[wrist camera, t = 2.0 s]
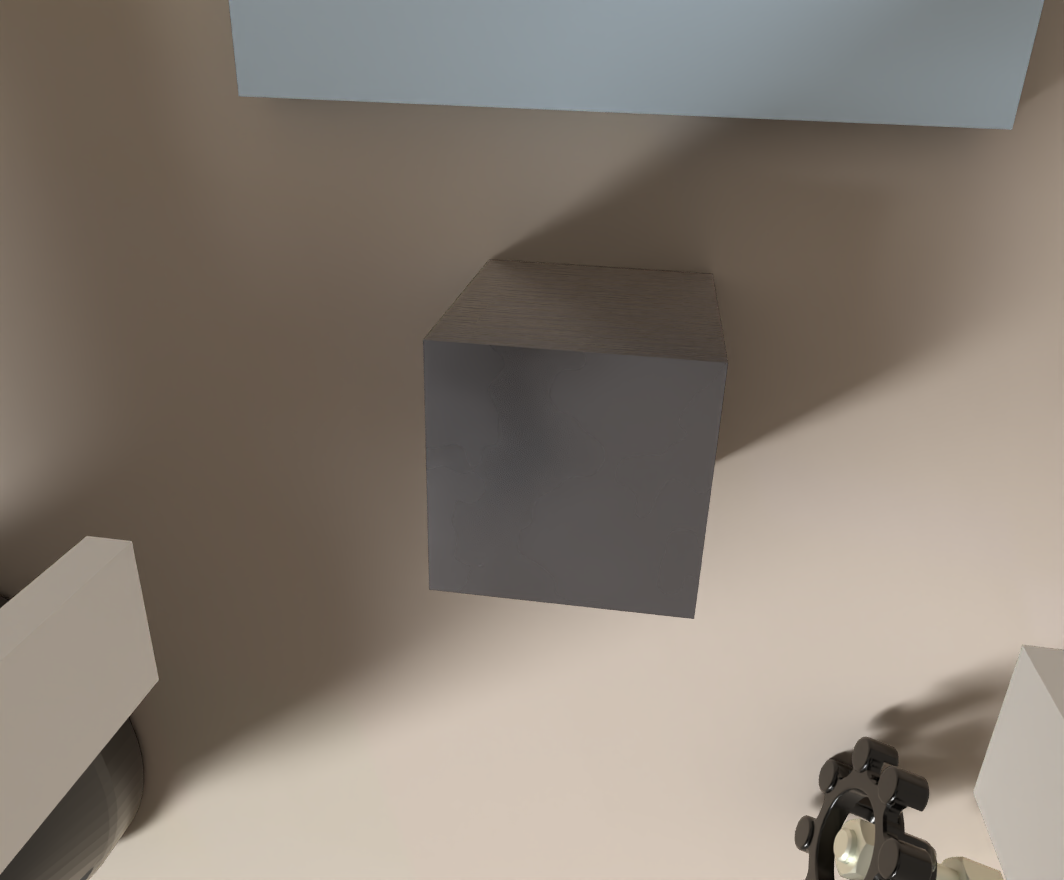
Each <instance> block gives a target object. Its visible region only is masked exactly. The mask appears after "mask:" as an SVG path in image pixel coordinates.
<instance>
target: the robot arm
mask: <svg viewBox="0 0 1064 880" xmlns="http://www.w3.org/2000/svg"><path fill="white" fill-rule="evenodd" d="M158 681H159V677H158V672H157V667H156V662H155V657H154V652H153V647H152V641H151V636H150V631H149V626H148V621H147V616H146V611H145V605H144V600H143V595H142V590H141V585H140V580H139V575H138V569H137V564H136V559H135V554H134V549H133V544H132V541H127V540H118V539H110V538H101V537H93V536H86V537H85V538H84V539H82V540H81V541H80V542H79V543H78V544H76V545H75V546H74V547H73V548H72V549H71V550H69V551H68V552H67V553H66V554H65V555H63V556H62V557H61V558H60V559H59V560H57V561H56V562H55V563H54V564H53V565H51V566H50V567H49V568H48V569H47V570H45V571H44V572H43V573H42V574H41V575H39V576H38V577H37V578H36V579H35V580H33V581H32V582H31V583H30V584H29V585H27V586H26V587H25V588H24V589H23V590H21V591H20V592H19V593H18V594H17V595H16V596H14V597H13V598H12V599H11V600H10V601H9V600H7V599H5V598H3V597H2V596H0V880H89V879H90V878H91V877H92V875H93V874H94V873H95V872H96V871H97V870H98V869H99V868H100V867H101V865H102V864H103V863H104V861H105V860H106V858H107V857H108V855H109V854H110V852H111V851H112V850H113V848H114V847H115V845H116V844H117V842H118V841H119V839H120V838H121V837H122V835H123V834H124V832H125V831H126V829H127V828H128V826H129V825H130V823H131V822H132V820H133V819H134V817H135V815H136V813H137V810H138V807H139V805H140V801H141V797H142V792H143V780H144V773H143V762H142V756H141V751H140V748H139V744H138V740H137V738H136V735H135V732H134V729H133V727H132V725H131V722H130V720H129V718H128V717H129V716H130V715H131V714H132V712H133V711H134V710H135V709H136V708H137V706H138V705H139V704H140V703H141V701H142V700H143V699H144V698H145V696H146V695H147V694H148V693H149V692H150V690H151V689H152V688H153V687H154V685H155V684H156V683H157V682H158ZM973 794H974V797H975V799H976V802H977V804H978V807H979V810H980V812H981V815H982V817H983V820H984V823H985V825H986V828H987V831H988V833H989V836H990V838H991V841H992V844H993V846H994V849H995V852H996V854H997V857H998V859H999V862H1000V865H1001V867H1002V870H1003V873H1004V875H1005V878H1006V880H1064V650H1062V649H1053V648H1045V647H1036V646H1028V645H1022V648H1021V651H1020V654H1019V657H1018V660H1017V663H1016V666H1015V669H1014V672H1013V674H1012V677H1011V680H1010V683H1009V686H1008V689H1007V692H1006V695H1005V698H1004V701H1003V704H1002V707H1001V710H1000V713H999V716H998V719H997V722H996V725H995V728H994V731H993V734H992V737H991V740H990V743H989V746H988V749H987V752H986V755H985V758H984V761H983V764H982V767H981V770H980V773H979V776H978V779H977V782H976V785H975V788H974V791H973Z"/></svg>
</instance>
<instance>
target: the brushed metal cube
mask: <svg viewBox="0 0 1064 880" xmlns="http://www.w3.org/2000/svg"><path fill="white" fill-rule="evenodd" d="M423 350H424V391H425V432H426V473H427V514H428V554H429V590H438V591H447V592H456V593H465V594H474V595H484V596H493V597H502V598H511V599H520V600H529V601H538V602H547V603H556V604H565V605H574V606H583V607H592V608H601V609H610V610H619V611H628V612H637V613H646V614H655V615H664V616H673V617H682V618H691V619H694V615H695V608H696V600H697V593H698V585H699V577H700V570H701V562H702V555H703V547H704V540H705V532H706V525H707V517H708V510H709V502H710V495H711V487H712V480H713V472H714V464H715V457H716V449H717V442H718V434H719V427H720V419H721V412H722V404H723V397H724V389H725V382H726V374H727V366H728V360H727V354H726V349H725V343H724V337H723V331H722V325H721V320H720V314H719V308H718V302H717V297H716V291H715V285H714V279H713V274H706V273H691V272H675V271H660V270H644V269H628V268H613V267H597V266H582V265H566V264H551V263H535V262H520V261H504V260H488V262H487V263H486V264H485V265H484V267H483V268H482V269H481V270H480V271H479V273H478V274H477V275H476V276H475V277H474V279H473V280H472V281H471V282H470V284H469V285H468V286H467V287H466V288H465V290H464V291H463V292H462V293H461V294H460V296H459V297H458V298H457V299H456V301H455V302H454V303H453V304H452V305H451V307H450V308H449V309H448V310H447V311H446V313H445V314H444V315H443V316H442V318H441V319H440V320H439V321H438V322H437V324H436V325H435V326H434V327H433V329H432V330H431V331H430V332H429V333H428V335H427V336H426V337H425V338H424V339H423Z"/></svg>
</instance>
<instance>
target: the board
mask: <svg viewBox="0 0 1064 880" xmlns="http://www.w3.org/2000/svg"><path fill="white" fill-rule="evenodd" d="M1043 4H1044V0H229V9H230V18H231V28H232V37H233V47H234V56H235V66H236V75H237V84H238V94H239V96H244V97H267V98H290V99H313V100H337V101H360V102H383V103H406V104H429V105H452V106H476V107H499V108H522V109H545V110H568V111H591V112H614V113H638V114H661V115H684V116H707V117H730V118H753V119H777V120H800V121H823V122H846V123H869V124H892V125H916V126H939V127H962V128H985V129H1008V130H1012V128H1013V124H1014V120H1015V116H1016V112H1017V108H1018V104H1019V100H1020V96H1021V92H1022V88H1023V84H1024V80H1025V76H1026V72H1027V68H1028V64H1029V60H1030V56H1031V52H1032V48H1033V44H1034V40H1035V36H1036V32H1037V28H1038V24H1039V20H1040V16H1041V12H1042V8H1043Z"/></svg>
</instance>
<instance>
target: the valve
mask: <svg viewBox="0 0 1064 880" xmlns="http://www.w3.org/2000/svg"><path fill="white" fill-rule="evenodd" d="M898 761H899V758H898V752H897V750H896V749H895V748H894V747H892V746H890V745H887V744H885V743H882V742H879V741H877V740H874V739H872V738H869V737H862V738H861V739H859V740H858V742H857V743H856V745H855V747H854V750H853V754H852V765H853V767H852V766H849V765H847V764H844V763H842V762H839V761H836V760H834V759H829V760H827V761H826V763H825V764H824V765H823V767H822V768H821V771H820V775H819V787H820V789H821V791H822V792H824V793H825V799H824V803H823V806H822V808H821V811H820V813H819V815H818V817H817V819H816V818H813V817H811V816H807V815H806V816H803V817H802V818H801V819H800V821H799V822H798V825H797V827H796V831H795V844H796V847H797V848H798V849H799V850H801V851H804V852H806V853H809V869H808V874H807V877H806V879H805V880H834V858H835V863H836V867H837V870H838V872H839V875H840V876H841V877H844V878H847V879H849V880H1003V877H1002V874H1001V872H1000V871H998V870H996V869H993V868H991V867H988V866H985V865H983V864H980V863H978V862H975V861H973V860H970V859H967V858H965V857H952V858H948V859H945V860H943V862H942V864H939V863H937V860H936V851H935V849H934V848H933V847H932V846H931V845H930V844H929V843H928V842H927V841H925V840H923V839H921V838H918V837H915V836H913V835H910V834H908V833H905V830H904V818H903V812H902V810H903V809H905V808H906V807H907V806H909V807H911V808H914V809H917V810H919V811H923V810H924V809H925V807H926V805H927V802H928V798H929V786H928V783H927V781H926V779H925V778H924V777H922V776H919V775H917V774H914V773H912V772H909V771H906V770H904V769H901V768H899V767H897V766H898ZM884 764H889V765H893V766H889V767H887V768H886V769H885V770H884V771H883V773H882V774H881V771H882V768H883V765H884ZM867 796H868V797H867ZM849 813H851V814H854V815H857V816H859V817H862V818H864V819H866V820H867V821H869V822H867V821H865V820H862V819H853V820H849V821H847V822H846V823H845V824H844V825H843V823H844V821H845V819H846V817H847V815H848V814H849ZM842 825H843V827H842Z"/></svg>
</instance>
